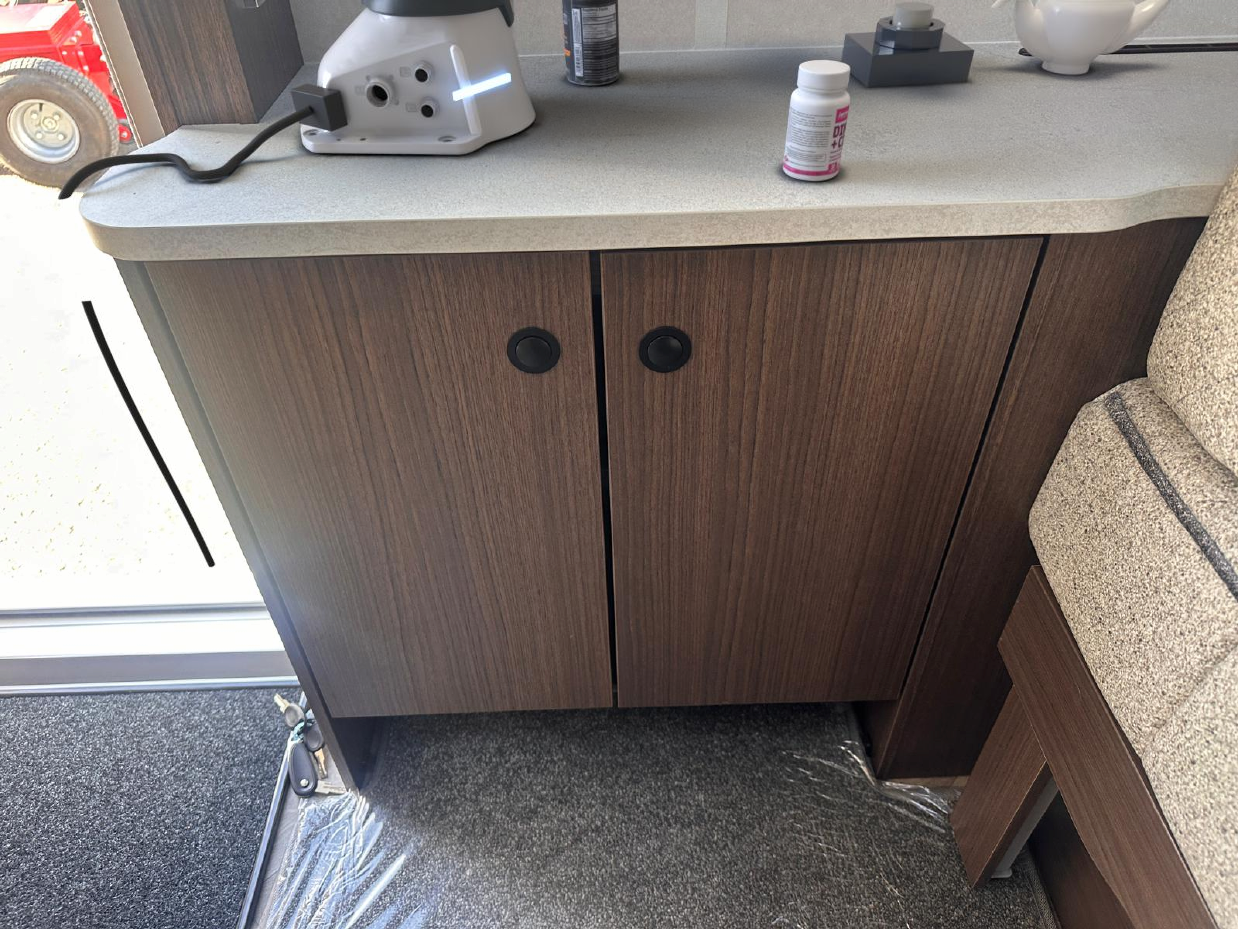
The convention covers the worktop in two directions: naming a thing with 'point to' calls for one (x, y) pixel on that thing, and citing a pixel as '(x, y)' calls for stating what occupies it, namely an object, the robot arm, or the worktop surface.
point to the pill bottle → (817, 121)
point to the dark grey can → (591, 41)
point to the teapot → (1079, 29)
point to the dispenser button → (912, 15)
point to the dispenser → (906, 55)
